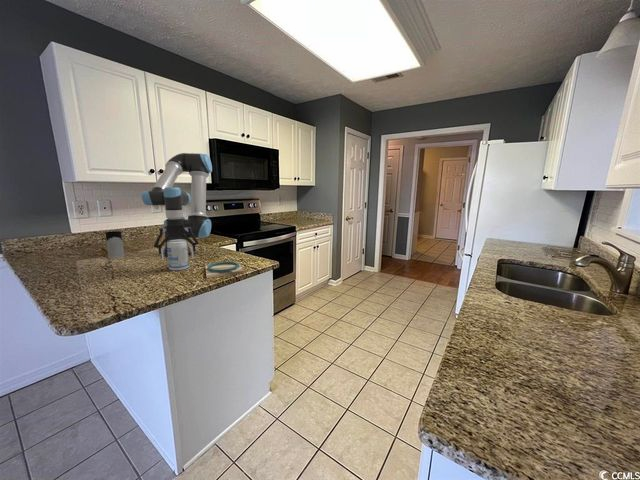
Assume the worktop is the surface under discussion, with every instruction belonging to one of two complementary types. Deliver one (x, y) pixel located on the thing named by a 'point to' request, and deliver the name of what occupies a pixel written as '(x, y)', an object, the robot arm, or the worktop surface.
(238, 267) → the nest board
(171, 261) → the supplement tub
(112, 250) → the glass holder
